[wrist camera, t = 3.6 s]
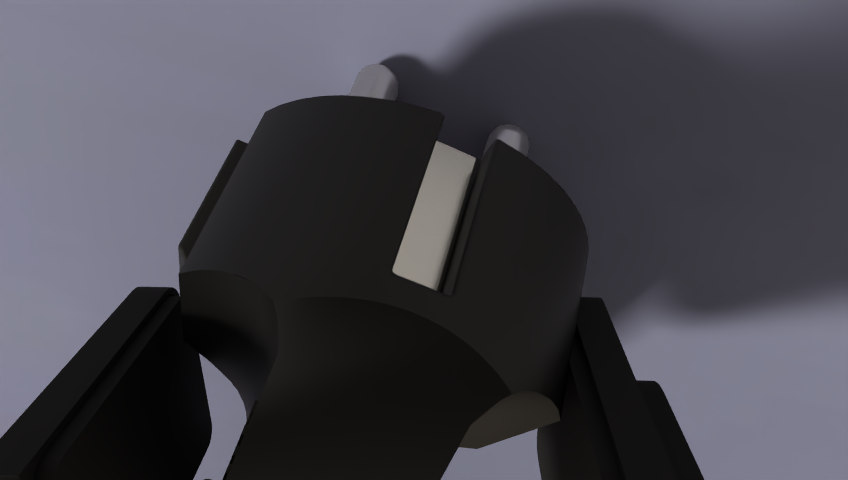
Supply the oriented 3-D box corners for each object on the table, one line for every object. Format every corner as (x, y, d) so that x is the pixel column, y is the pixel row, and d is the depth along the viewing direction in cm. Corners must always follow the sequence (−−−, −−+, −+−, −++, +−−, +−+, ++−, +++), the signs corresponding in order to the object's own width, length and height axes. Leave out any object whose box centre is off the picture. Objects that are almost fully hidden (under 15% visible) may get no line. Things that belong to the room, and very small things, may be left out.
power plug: (131, 512, 15) (-10, 446, 5) (257, 248, 19) (328, -110, 9) (352, 583, 16) (635, 658, 6) (430, 316, 20) (687, 65, 9)
